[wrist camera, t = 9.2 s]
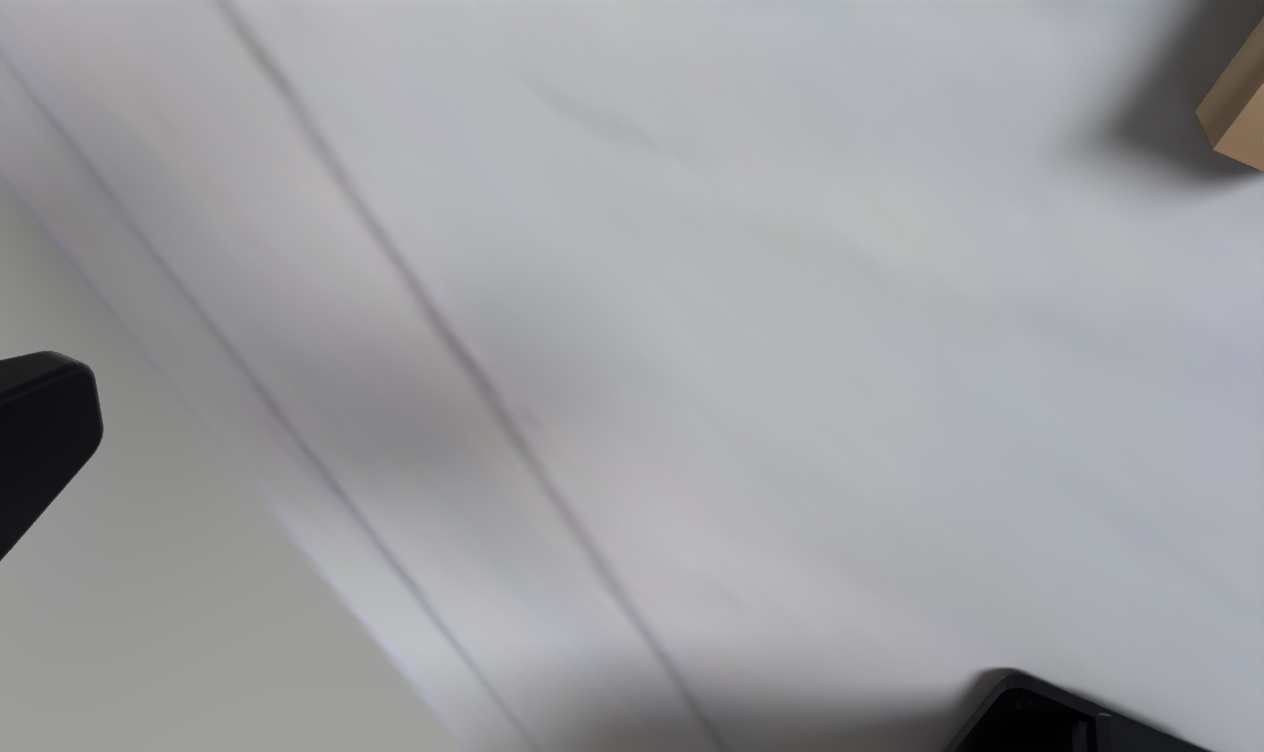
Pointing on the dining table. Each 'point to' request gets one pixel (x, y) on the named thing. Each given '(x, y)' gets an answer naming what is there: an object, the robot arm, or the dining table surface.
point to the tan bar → (1238, 105)
